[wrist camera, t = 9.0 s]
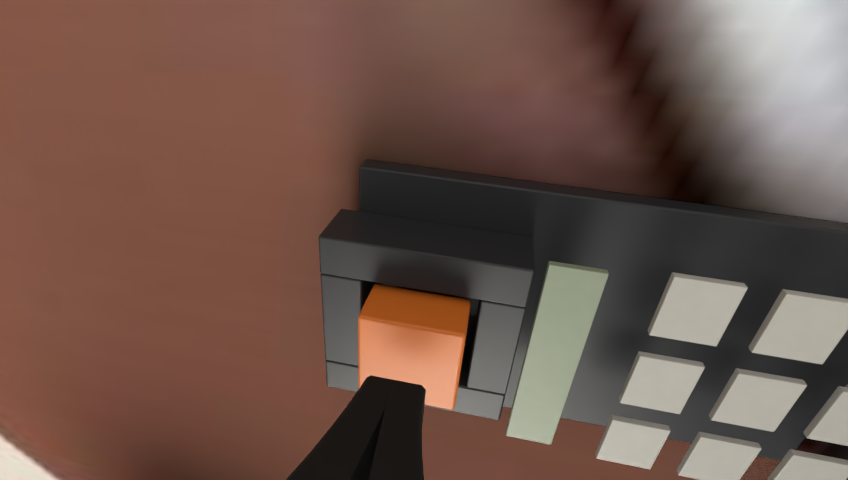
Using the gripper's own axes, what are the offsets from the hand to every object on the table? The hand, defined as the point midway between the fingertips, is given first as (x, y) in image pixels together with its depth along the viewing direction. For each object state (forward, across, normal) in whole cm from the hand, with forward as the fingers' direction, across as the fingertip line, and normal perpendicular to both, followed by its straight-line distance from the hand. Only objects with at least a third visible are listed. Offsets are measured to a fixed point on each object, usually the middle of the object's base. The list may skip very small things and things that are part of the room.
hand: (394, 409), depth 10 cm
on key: (+3, 0, 0) cm, 3 cm away
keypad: (+3, -8, 0) cm, 8 cm away
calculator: (+5, -5, 0) cm, 7 cm away
